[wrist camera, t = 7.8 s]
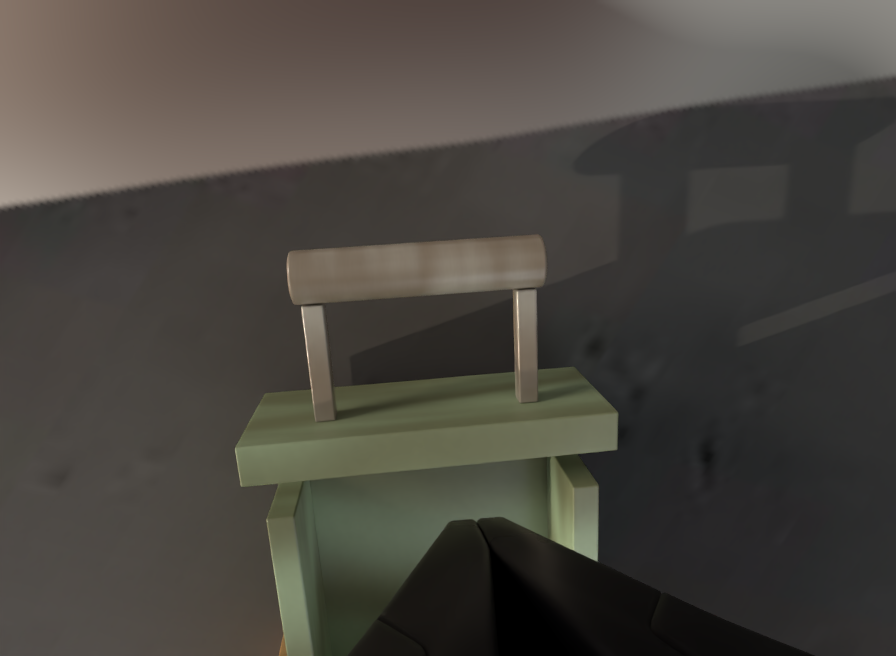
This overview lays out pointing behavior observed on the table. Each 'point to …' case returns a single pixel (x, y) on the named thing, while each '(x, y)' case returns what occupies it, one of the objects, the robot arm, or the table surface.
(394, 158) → the table surface
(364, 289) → the drawer
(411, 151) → the table surface
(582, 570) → the robot arm
